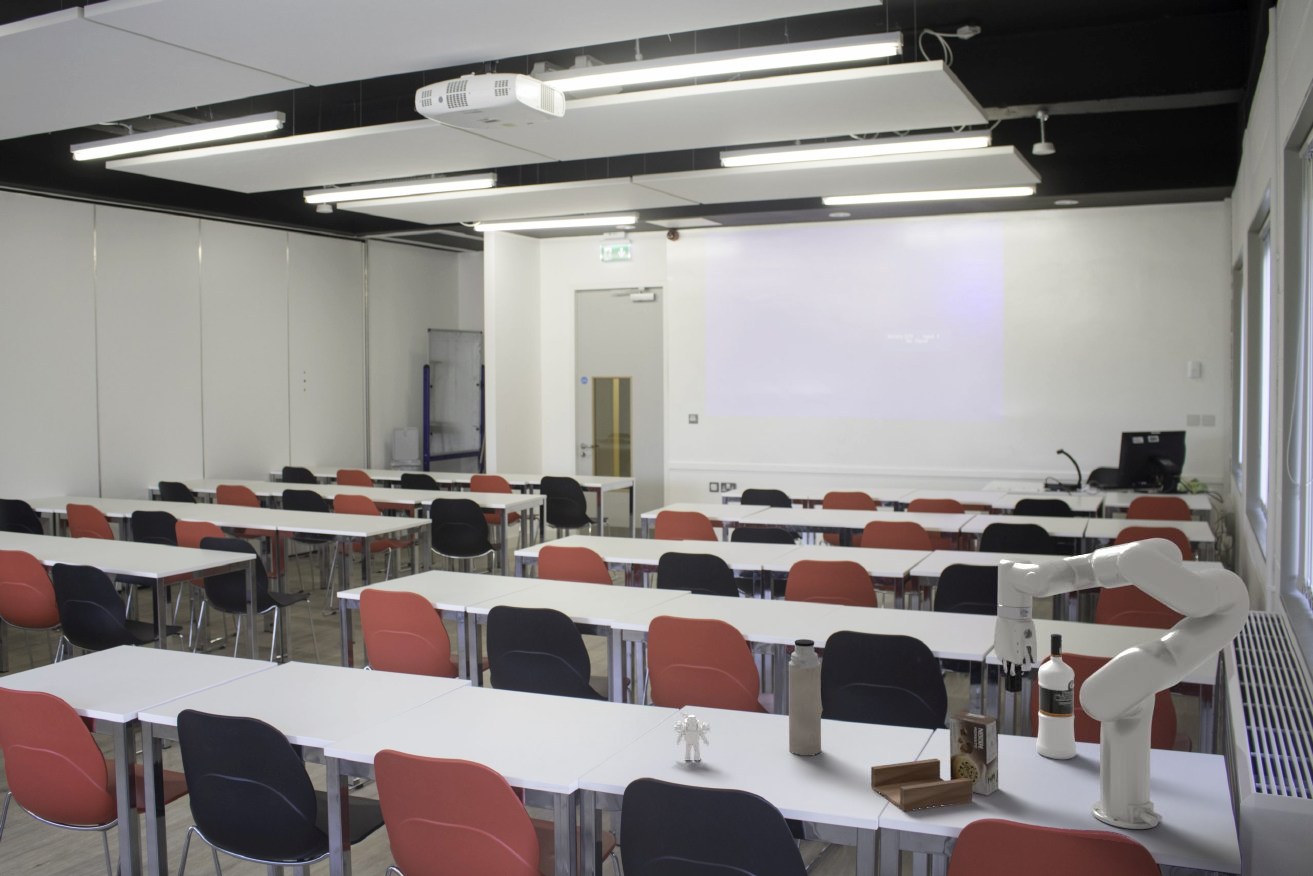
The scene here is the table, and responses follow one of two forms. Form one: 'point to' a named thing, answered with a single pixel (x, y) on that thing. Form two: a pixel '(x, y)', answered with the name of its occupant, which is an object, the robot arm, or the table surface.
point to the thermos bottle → (804, 699)
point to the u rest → (919, 785)
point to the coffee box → (974, 750)
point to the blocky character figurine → (692, 735)
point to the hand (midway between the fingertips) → (1013, 690)
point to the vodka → (1056, 706)
